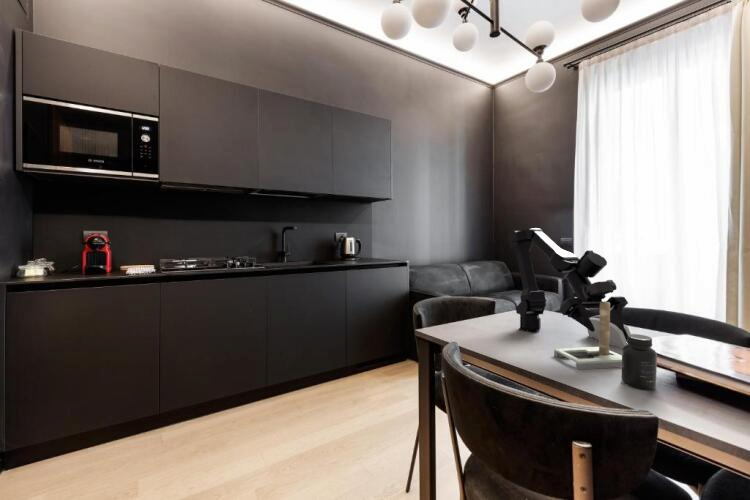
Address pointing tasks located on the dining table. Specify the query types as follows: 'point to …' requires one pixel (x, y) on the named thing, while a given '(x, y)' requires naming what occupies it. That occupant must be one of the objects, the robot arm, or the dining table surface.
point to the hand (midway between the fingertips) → (608, 330)
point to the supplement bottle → (639, 363)
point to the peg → (604, 329)
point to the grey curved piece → (616, 335)
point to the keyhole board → (592, 363)
